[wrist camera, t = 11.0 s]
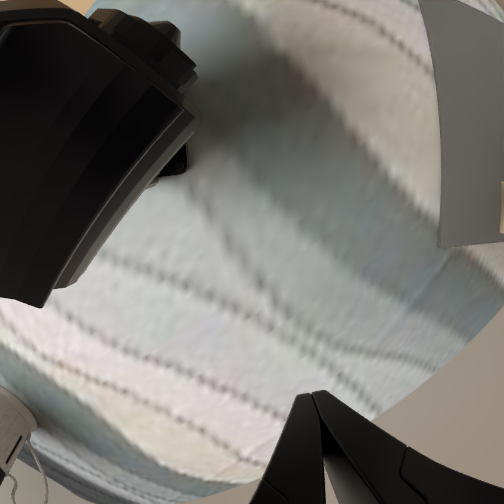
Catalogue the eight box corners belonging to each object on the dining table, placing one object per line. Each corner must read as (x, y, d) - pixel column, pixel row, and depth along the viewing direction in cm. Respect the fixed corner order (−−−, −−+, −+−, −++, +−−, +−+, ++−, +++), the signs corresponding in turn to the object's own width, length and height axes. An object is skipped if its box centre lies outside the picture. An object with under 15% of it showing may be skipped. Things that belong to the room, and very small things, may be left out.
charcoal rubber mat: (414, -13, 13) (416, -15, 13) (518, 34, 13) (520, 33, 13) (437, 246, 20) (439, 248, 20) (530, 237, 20) (533, 238, 20)
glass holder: (-13, 373, 24) (-69, 445, 10) (75, 436, 27) (36, 528, 13) (-10, 404, 26) (-53, 468, 12) (67, 458, 29) (37, 534, 15)
